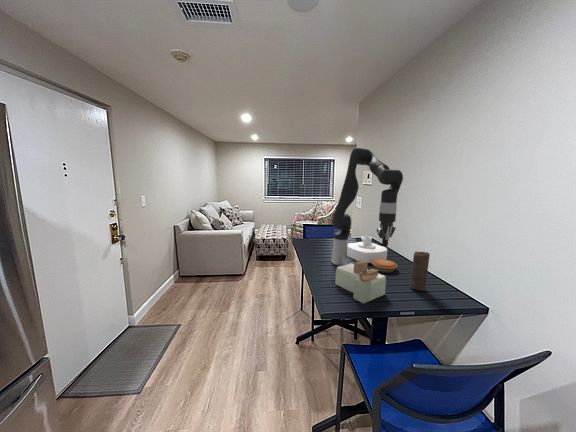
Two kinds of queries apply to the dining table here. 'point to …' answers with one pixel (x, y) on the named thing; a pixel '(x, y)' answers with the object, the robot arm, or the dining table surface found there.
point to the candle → (419, 270)
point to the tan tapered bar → (368, 274)
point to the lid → (359, 270)
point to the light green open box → (360, 287)
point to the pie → (384, 265)
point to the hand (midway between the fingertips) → (384, 246)
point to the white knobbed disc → (366, 250)
